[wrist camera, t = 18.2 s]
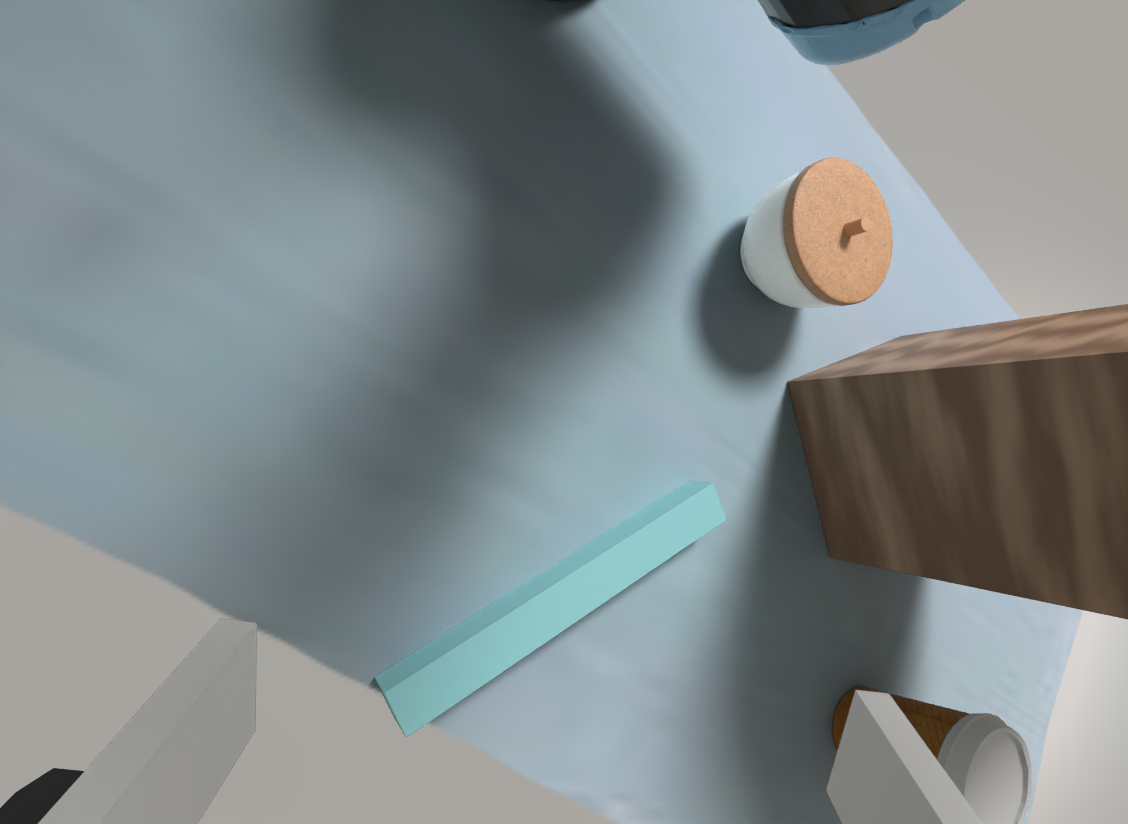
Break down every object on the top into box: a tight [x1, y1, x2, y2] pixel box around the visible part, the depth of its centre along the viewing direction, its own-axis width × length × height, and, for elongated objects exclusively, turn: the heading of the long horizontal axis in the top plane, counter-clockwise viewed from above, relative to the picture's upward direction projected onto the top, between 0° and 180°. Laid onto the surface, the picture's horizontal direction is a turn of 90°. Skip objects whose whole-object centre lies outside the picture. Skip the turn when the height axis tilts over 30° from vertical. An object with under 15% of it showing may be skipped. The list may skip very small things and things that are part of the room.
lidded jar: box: [740, 158, 893, 309], centre depth 50 cm, size 11×11×9 cm
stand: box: [788, 304, 1128, 619], centre depth 46 cm, size 16×16×30 cm
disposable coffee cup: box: [833, 687, 1031, 824], centre depth 52 cm, size 10×10×12 cm
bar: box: [375, 481, 726, 737], centre depth 43 cm, size 26×3×3 cm, turn 114°
